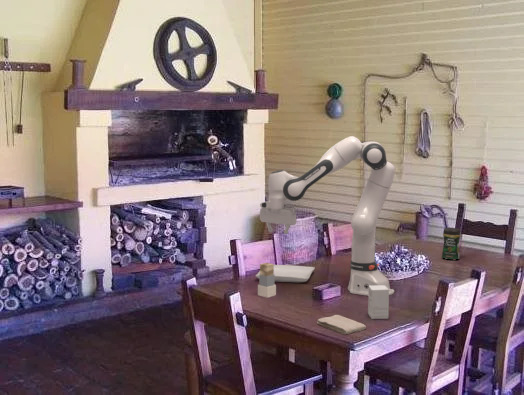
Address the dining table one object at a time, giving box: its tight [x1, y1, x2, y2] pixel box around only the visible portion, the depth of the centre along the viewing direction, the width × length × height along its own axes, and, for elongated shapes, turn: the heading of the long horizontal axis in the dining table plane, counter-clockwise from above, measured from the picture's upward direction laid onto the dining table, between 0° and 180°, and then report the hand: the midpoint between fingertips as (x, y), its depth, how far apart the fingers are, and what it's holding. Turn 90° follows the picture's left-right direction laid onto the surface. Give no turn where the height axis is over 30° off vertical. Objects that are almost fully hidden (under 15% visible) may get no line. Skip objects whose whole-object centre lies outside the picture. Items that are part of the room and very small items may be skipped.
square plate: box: [255, 264, 316, 284], centre depth 354 cm, size 27×27×4 cm
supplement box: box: [367, 285, 390, 320], centre depth 285 cm, size 7×7×13 cm
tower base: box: [257, 284, 277, 298], centre depth 319 cm, size 6×6×5 cm
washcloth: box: [316, 314, 367, 335], centre depth 272 cm, size 12×18×3 cm, turn 37°
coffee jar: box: [441, 226, 461, 260], centre depth 395 cm, size 10×8×19 cm
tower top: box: [258, 275, 276, 287], centre depth 318 cm, size 5×5×5 cm
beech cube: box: [259, 262, 275, 276], centre depth 317 cm, size 4×4×5 cm
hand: (278, 232), depth 328 cm, fingers open, 8 cm apart
